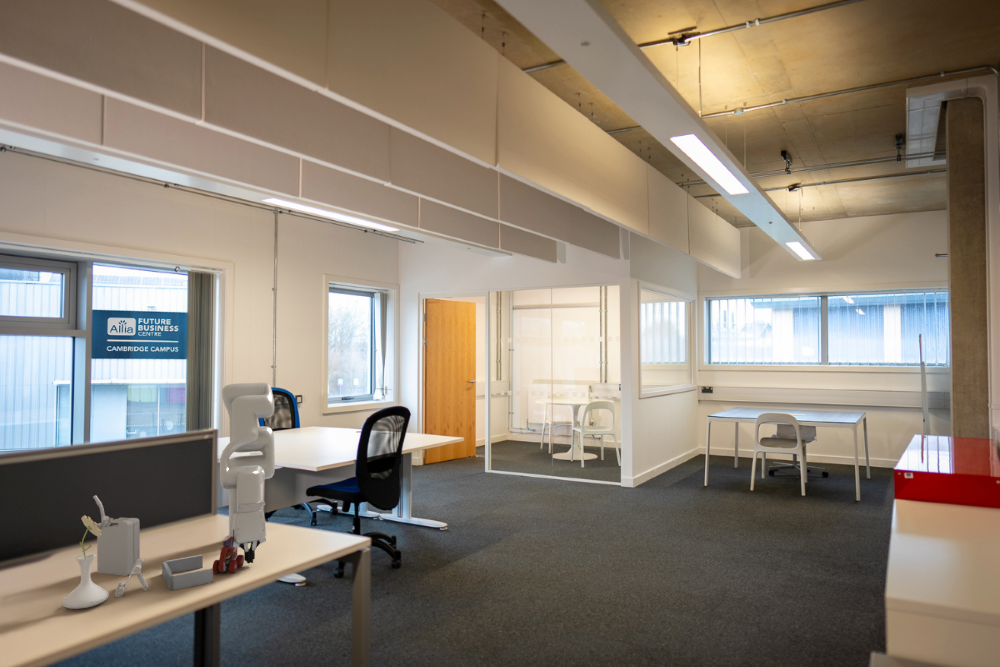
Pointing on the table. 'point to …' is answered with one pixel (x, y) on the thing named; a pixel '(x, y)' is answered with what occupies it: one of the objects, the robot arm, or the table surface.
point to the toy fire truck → (228, 558)
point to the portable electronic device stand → (135, 570)
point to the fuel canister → (117, 544)
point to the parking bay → (186, 578)
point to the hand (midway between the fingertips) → (249, 562)
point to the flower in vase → (86, 577)
